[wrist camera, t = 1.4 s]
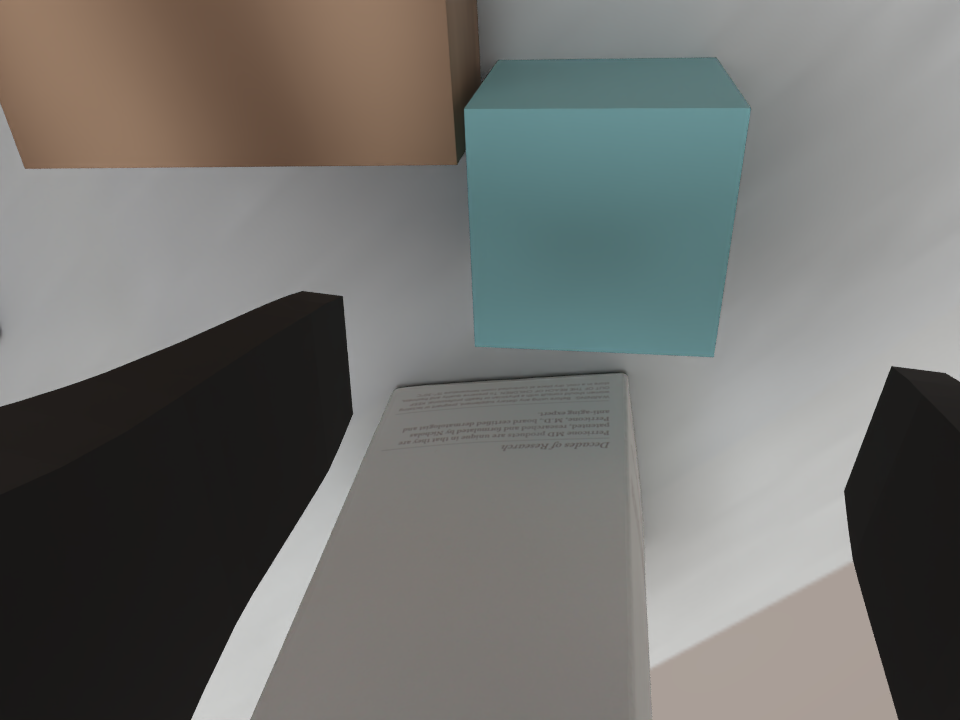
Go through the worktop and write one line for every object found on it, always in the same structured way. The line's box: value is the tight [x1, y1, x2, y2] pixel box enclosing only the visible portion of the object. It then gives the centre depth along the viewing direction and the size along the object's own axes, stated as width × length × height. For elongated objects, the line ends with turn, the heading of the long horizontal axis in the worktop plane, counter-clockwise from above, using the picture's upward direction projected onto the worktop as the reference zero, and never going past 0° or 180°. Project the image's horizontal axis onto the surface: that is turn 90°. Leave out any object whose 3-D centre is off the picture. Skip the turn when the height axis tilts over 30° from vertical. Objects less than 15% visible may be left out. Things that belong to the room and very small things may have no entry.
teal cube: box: [464, 58, 751, 357], centre depth 16 cm, size 5×5×5 cm
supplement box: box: [250, 373, 652, 720], centre depth 19 cm, size 7×7×13 cm
